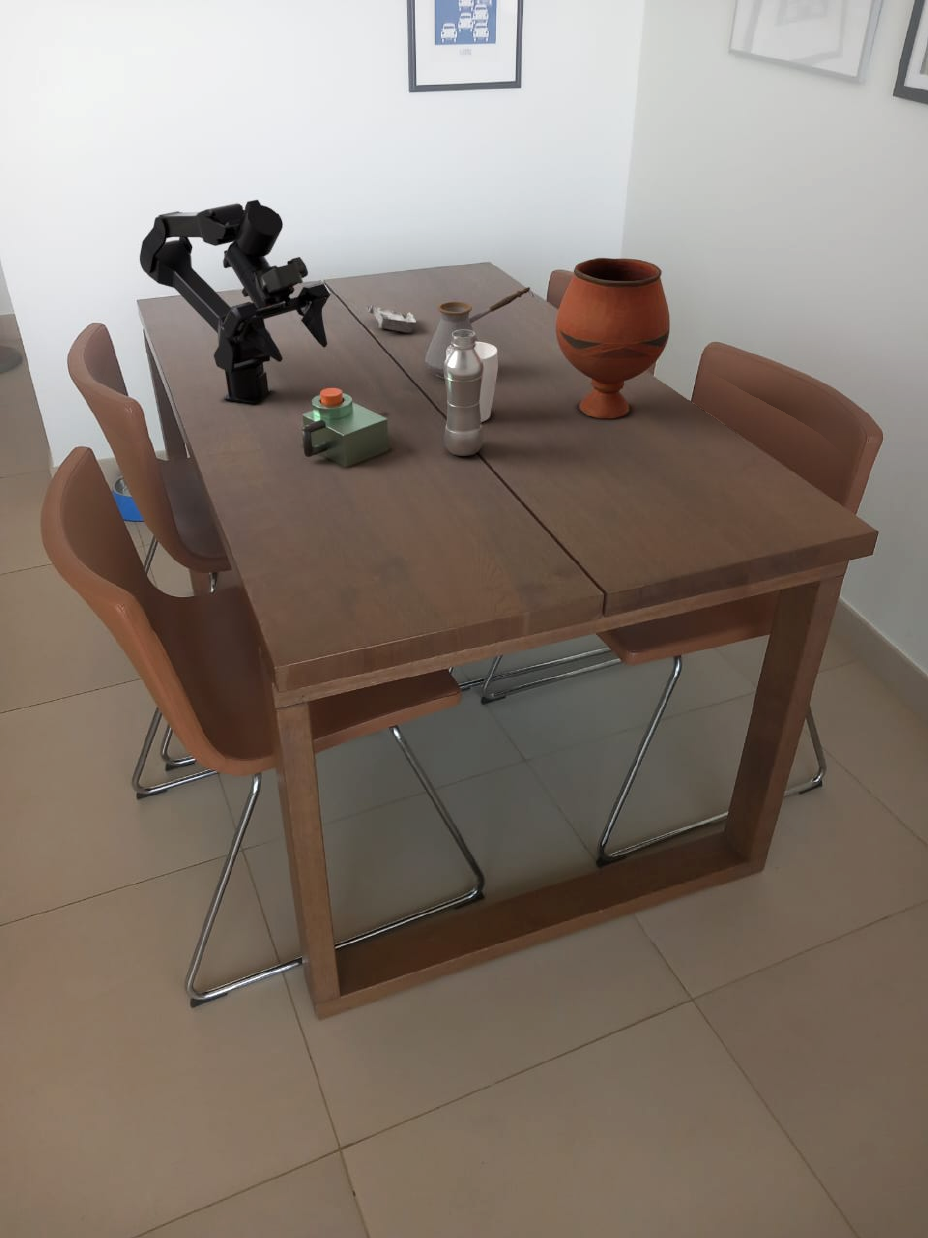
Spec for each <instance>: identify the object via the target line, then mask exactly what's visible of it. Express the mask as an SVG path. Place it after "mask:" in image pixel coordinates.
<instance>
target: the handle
mask: <svg viewBox="0 0 928 1238" xmlns="http://www.w3.org/2000/svg"><path fill="white" fill-rule="evenodd" d="M325 425H326V423H325V421H324V420H319V421H316V422H313V423H310V424H308V425H305V426H304V425H303V426H302V427H301V437H302V445H303V455H304V456H305V457H306V458H311V457H313V456H317V455H319V454H320V453H321V452H324V451H326V450H327V446H326V444H325V443H320V444H318V445H315V446H312V438H311V433H312V432H315V431H317V430H320V429H323V428H324V427H325Z"/></svg>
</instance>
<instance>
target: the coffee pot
mask: <svg viewBox="0 0 928 1238" xmlns="http://www.w3.org/2000/svg"><path fill="white" fill-rule="evenodd" d="M527 293H528V295H529V296H530V297H531V298H534V293H533V291H532V289H531V287H530V286H527V287H525V288H523V289H522V290H517V291H516V293H513V294H511V295H508V296H506V297H504V298H503V299H501V300H500V301H498V302H496V303H495V304H493V305H491V306H489V308H487V309H485V310H483V311H481V312H479V313H477V314H476V315H475V314H474V316H471V317H469V316H470V312H471V311H472V310H473V306H472V305H471V304H469V303H467V302H464V301H447V302H442V303H440V304H439V305H437V310H438V312H439V315H440V320H439V323H438V325H437V328H436V330H435V332H434V335H433V337H432V340H431V342H430V344H429V347H428V350H427V352H426V354H425V360H424V361H425V364H426V365H427V367H428V369H429V370H430V371H431V372H432V373H434V374H435V376H436V377H438V378H440V379H442V380H445V377H444V370H443V366H444V362H445V360H446V350H447V348H448V347H449V346H450V345H451V342H452V333H453V332H454V331H457V330H471V331H473V332H475V330H474V328H473V325H472V324H473V323H474V322H476V321H478V320H480V319H482V318H483V317H485V316H487V315H488V314H490V313H492V312H494V311H497V310H498V309H501V308H503V307H505V306H507V305H509V304H511V303H512V302H513V301H515V300H517V299H518V298H522V297H523V295H525V294H527ZM475 341H477V342H479V340H478V337H477V335H476V334H475Z"/></svg>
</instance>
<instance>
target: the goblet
mask: <svg viewBox="0 0 928 1238" xmlns="http://www.w3.org/2000/svg"><path fill="white" fill-rule="evenodd" d="M662 272H663V271H662V269H661V268H660V267H659V266H658V265H656V264H655V263H652V262H649V261H647V260H641V259H635V258H610V257H596V258H592V259H587V260H585V261H582V262H580V263H578V264H576V265H575V267H574V269H573V276H572V277H571V280H570V283H569V285H568V287H567V289H566V290H565V293H564V294H563V297H562V298H561V299H562V300H561V302H560V305H559V307H558V310H557V313H556V320H555V335H556V340H557V343H558V346H559V349H560V351H561V353H562V355H563V356H564V358H565V359H566V360H567V361H568V362H569V363H570V364H571V365H572V366H573V367H574V368H575V369H576V370H577V371H578V372H579V373H581V374H582V375H584V376H586V377H587V378H589V379H591V382H590V385H591V386H592V387H593V389H592V390H591V391H590V392H589V393H588V394H586V396H584V397H583V398H582V399H581V401H580V403H579V410H580V411H581V412H582V413H583V414H584V415H586V416H588V417H592V418H597V419H617V418H621V417H624V416H625V415H627V414H628V413H629V412H630V407H629V404H628V401H627V400H626V398H625V397H624V396H623V394H622V393H621V392H620V390H622V389H623V388H624V385H625V382H628V381H629V380H632V379H634V378H636V377H638V376H639V375H641V374H643V373H645V372H646V371H647V370H648V369H649V368H651V367H652V366H653V365H654V364H655V363H656V362H657V361H658V360H659V358H660V357H661V356H662V354H663V352H664V351H665V349H666V347H667V344H668V341H669V338H670V328H671V327H670V326H671V325H670V324H671V323H670V322H671V321H670V320H671V319H670V310H669V304H668V301H667V296H666V294H665V289H664V285H663V282H662V278H661V277H662Z"/></svg>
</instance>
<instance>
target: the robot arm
mask: <svg viewBox="0 0 928 1238" xmlns="http://www.w3.org/2000/svg"><path fill="white" fill-rule="evenodd" d="M283 227H284V223H283V219H282V217H281V215H280V214H279V213H278V212H276V211H275V210H274V209H272V208H271V207H269V206H267V205H263V204H261V202H260V201H259V199H253V200H248V201H246V204H245V207H244V206H243V205H242V204H240V203H238V202H236V203H232V204H231V203H230V204H226V205H222V206H217V207H211V208H206V209H204V210H201V211H195V212H190V211H189V212H187V211H186V212H183V211H179V210H176V211H171V212H167V213H162V214H159V215H158V216H156V217H155V218H154V221H153V227H152V228H151V229H150V231H149V232H148V233H147V235H146V236H145V237H144V239H143V240H142V242H141V247H140V253H139V264H140V266H141V269H142V270H143V272H144V273H145V274H146V275H147V276H148V277H149V278H151V279H152V280H153V281H155V282H156V283H157V284H159V285H162V286H165V287H169V288H172V289H174V290H175V291H176V292H177V293H178V294H179V295H180V296H181V297H182V298H183V300H185V301H186V302H187V303H188V304H189V305H190V307H192V309H194V310H195V312H197V314H198V315H199V316H200V317H201V318H202V319H203V320H205V322H206V323H207V324H208V325H209V326H210V327H211V328H212V329H213V330H214V331H215V333H216V334H217V342H218V346H217V348H216V350H215V352H213V358H214V361H215V365H216V367H217V368H219V369H222V370H224V374H225V380H226V388H227V394H226V395H225V396H224V397H223V399H224V401H228V402H235V403H236V402H237V403H244V404H251V405H256V404H258V403H259V402H260V401H261V400H263V399H264V398H265V397H267V395H269V394H270V393H271V392H272V389H271V388H270V387H269V385H268V376H267V375H268V374H267V372H266V371H265V369H264V368H265V367H264V363H267V362H270V361H271V358H272V359H274V360H275V361H276V362H278V363H281V362H282V361H283V358H284V357H283V356H282V353H281V351H280V349H279V348H278V346H277V344H276V343H275V341H274V339H273V338H272V335H271V333H270V331H269V330H268V329H267V328H266V324H265V320H266V319H270V318H273V317H276V316H280V315H284V314H287V313H290V312H293V311H296V312H297V315H299V316H300V317H302V318H301V320H300V321H301V323H302V324H303V325H304V326H305V328H306V329H307V330H308V331H309V332H310V334H311V335H312V337H313V338H314V340H315V341H317V343H318V344H319V345H320V346H321V347H322V348H323V349H324V348H327V346H328V340H327V336H326V335H327V334H326V330H325V326H324V325H325V324H324V321H323V309H324V306H325V305H326V304H327V301H328V300H329V298H330V296H331V291H329V289H328V287H327V285H325V283H322V282H315V283H311V284H308V285H305V286H303V287H302V288H301V289H300V292H299V293H298V295H297V296H295V297H291V295H293V294H294V292H295V290H296V289H295V288H294V287H295V286H297V285H298V284H299V285H301V284H302V283H304V280H303V279H304V278H306V277H308V275H309V270H308V268H307V265H306V263H305V262H304V261H303V259H302V258H301V256H298V257H294V258H291V259H289V260H288V261H287V264H285V265H281V266H277V265H271V263H270V262H269V260H268V258H267V257H266V256H268V255H270V253H271V252H272V250H273V248H274V246H275V244H276V242H277V240H278V237H279V236H280V234H281V232H282V230H283ZM171 238H178V239H172V240H168V241H167V239H171ZM190 238H201V239H202V242H203V243H205V244H208V245H211V246H214V247H217V246H222V245H225V244H229V246H228V247H227V249H226V250H224V251H223V254H224V257H223V260H222V264H223V265H222V266H223V268H224V269H228V268H229V269H230V268H231V269H232V270H233V272H234V274H235V275H236V277H237V279H238V281H239V282H240V283H241V285H242V287H243V288H242V290H241V294H242V295H243V297H244V298H247V297H249V298H250V300H251V301H252V302H251V301H247V302H243V303H239V304H236V305H232V306H230V304H228V302H227V301H225V300H224V299H223V298H222V297H221V296H220V295H219V294H218V292H216V291H215V290H214V289H213V287H212V286H211V285H210V284H209V283H208V282H207V281H206V280H205V279H204V278H203V277H202V276H201V275H200V274H199V273H198V272H197V271H196V270H195V269H194V268H193V263H192V262H193V261H192V253H193V245H192V243H191V241H190Z"/></svg>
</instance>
